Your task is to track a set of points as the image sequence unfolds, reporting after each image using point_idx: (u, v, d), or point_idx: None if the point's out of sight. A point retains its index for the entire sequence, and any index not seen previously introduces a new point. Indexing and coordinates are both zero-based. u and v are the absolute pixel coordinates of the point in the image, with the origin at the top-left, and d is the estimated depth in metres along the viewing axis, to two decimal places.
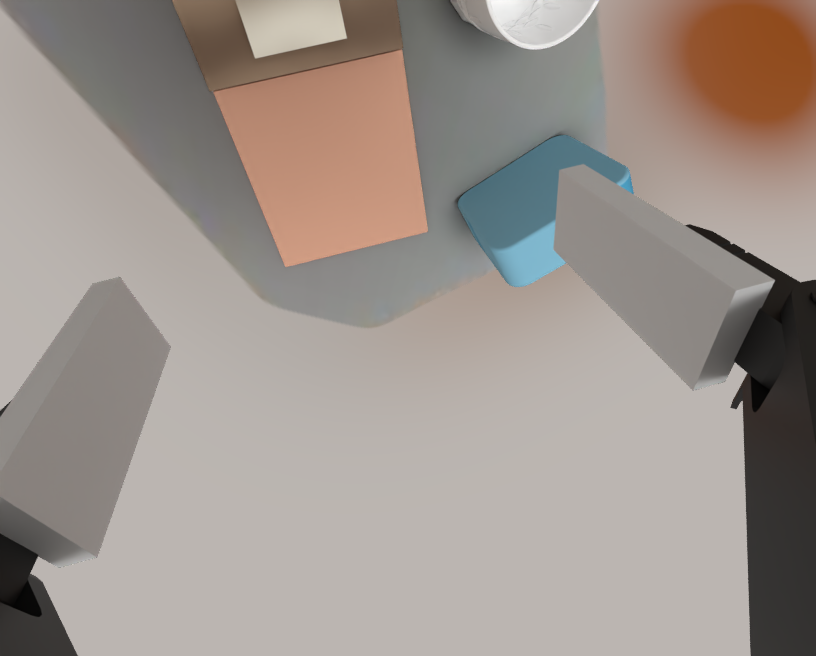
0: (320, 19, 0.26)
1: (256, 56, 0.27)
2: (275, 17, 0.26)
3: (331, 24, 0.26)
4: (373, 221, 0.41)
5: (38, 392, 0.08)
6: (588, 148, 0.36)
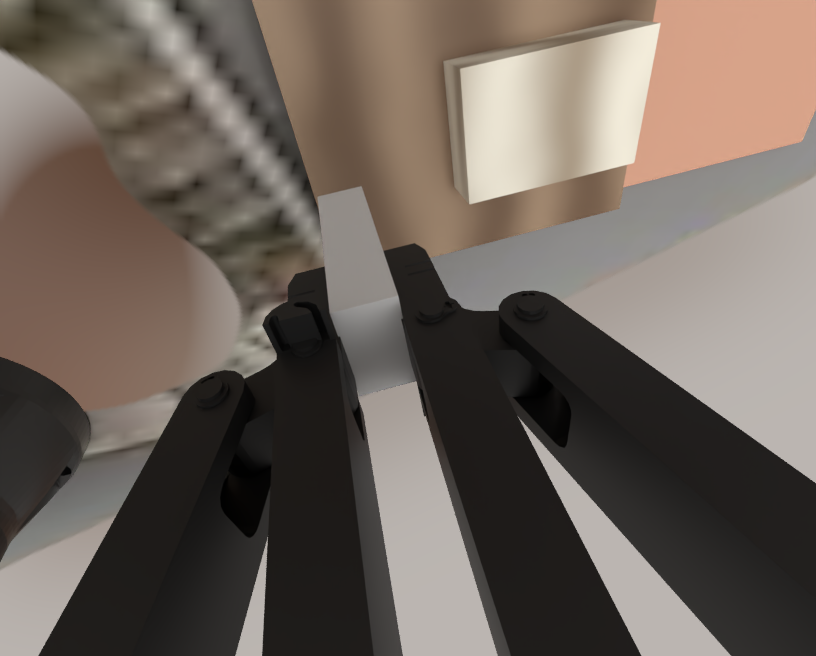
0: (628, 65, 0.19)
1: (632, 160, 0.22)
2: (607, 131, 0.21)
3: (638, 47, 0.18)
4: None
5: (343, 256, 0.11)
6: None
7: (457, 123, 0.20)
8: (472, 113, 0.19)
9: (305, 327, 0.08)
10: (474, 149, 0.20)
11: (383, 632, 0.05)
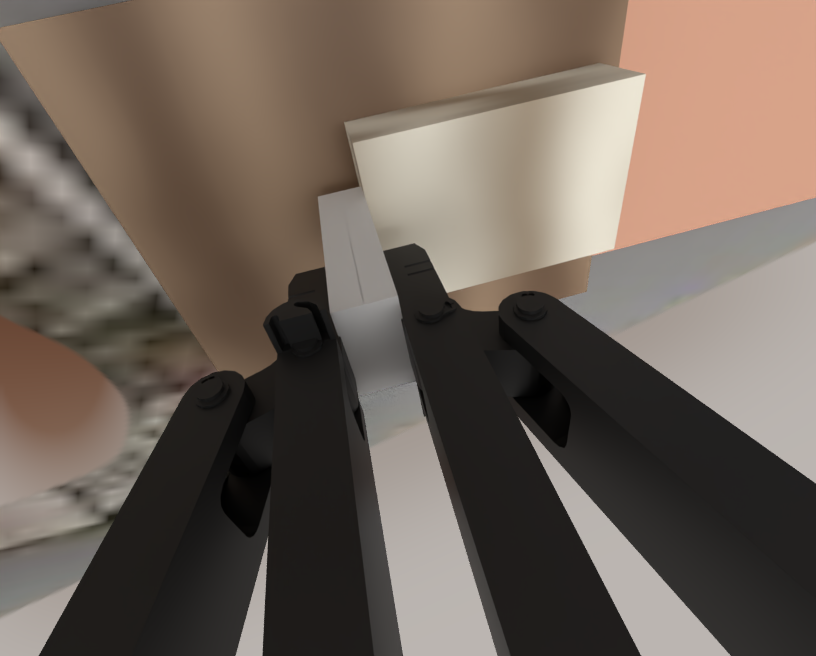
0: (600, 131, 0.13)
1: (612, 246, 0.16)
2: (575, 214, 0.15)
3: (614, 107, 0.13)
4: None
5: (343, 256, 0.11)
6: None
7: None
8: (379, 199, 0.13)
9: (305, 327, 0.08)
10: (388, 243, 0.14)
11: (383, 632, 0.05)
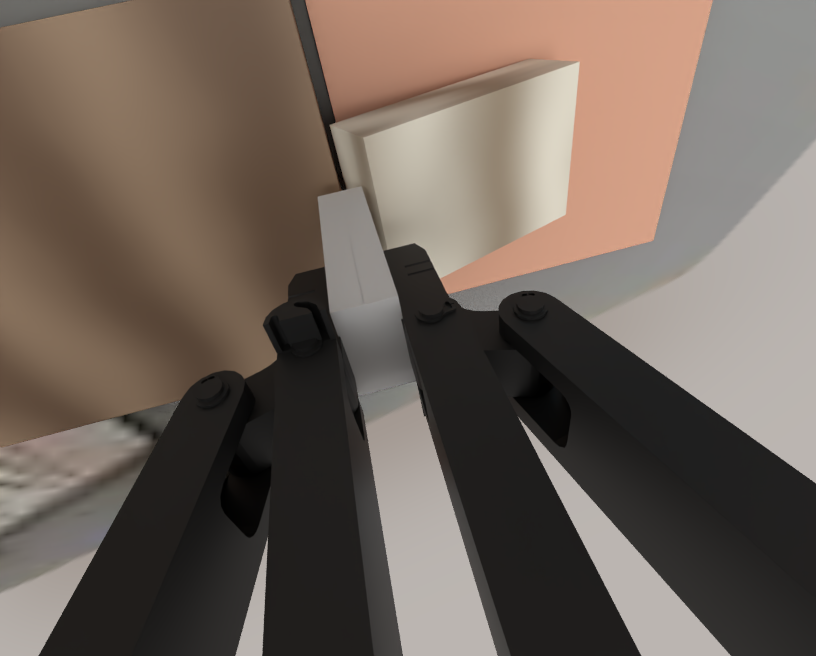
0: (552, 112, 0.16)
1: (564, 212, 0.19)
2: (538, 186, 0.17)
3: (560, 91, 0.15)
4: (647, 51, 0.18)
5: (343, 256, 0.11)
6: None
7: None
8: (387, 191, 0.14)
9: (305, 327, 0.08)
10: (395, 234, 0.15)
11: (383, 632, 0.05)
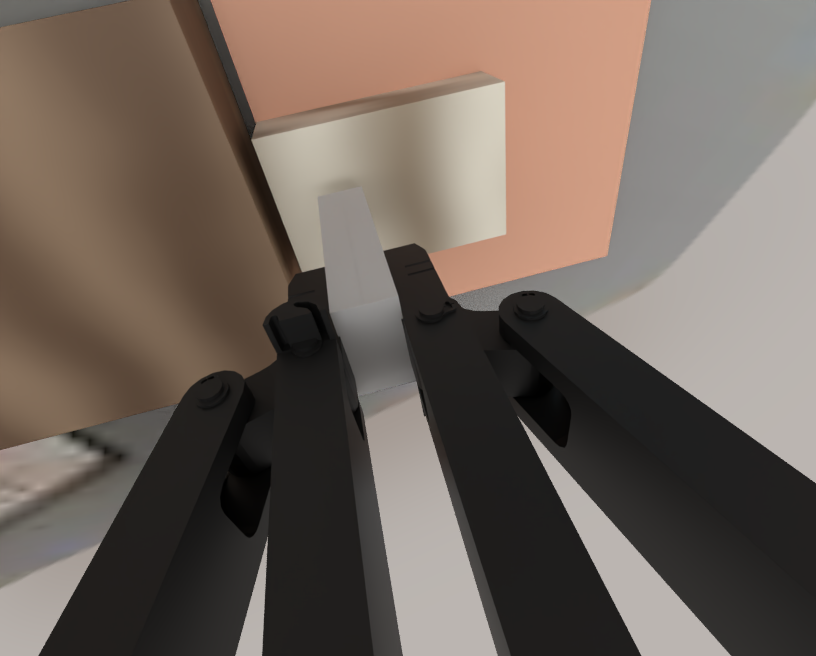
0: (473, 130, 0.16)
1: (504, 232, 0.19)
2: (464, 202, 0.17)
3: (481, 110, 0.15)
4: (584, 67, 0.17)
5: (343, 256, 0.11)
6: None
7: None
8: (282, 188, 0.15)
9: (305, 327, 0.08)
10: (296, 226, 0.16)
11: (383, 632, 0.05)
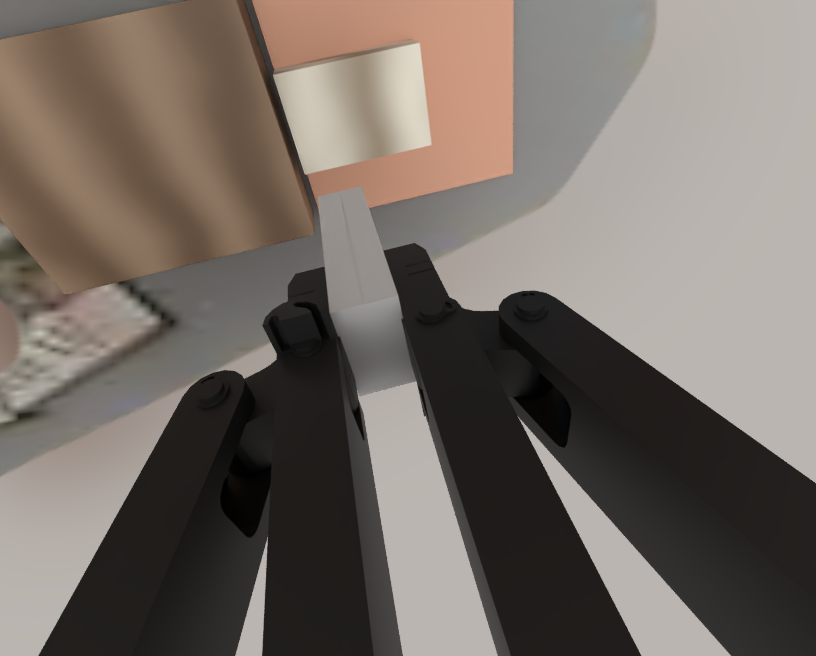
0: (403, 73, 0.26)
1: (430, 143, 0.29)
2: (402, 120, 0.28)
3: (407, 60, 0.26)
4: (477, 37, 0.28)
5: (343, 256, 0.11)
6: None
7: None
8: (290, 106, 0.26)
9: (305, 327, 0.08)
10: (298, 133, 0.27)
11: (383, 632, 0.05)
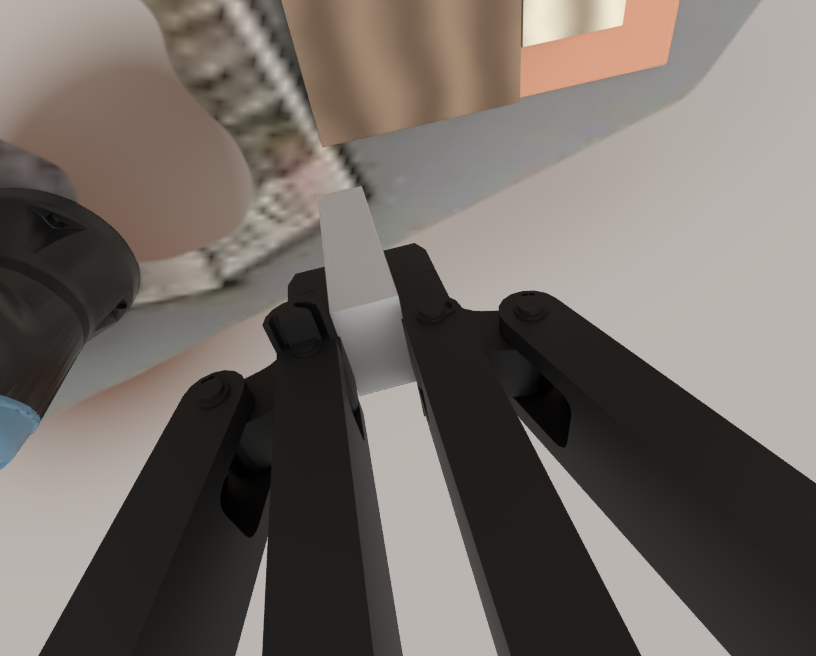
0: None
1: (621, 23, 0.36)
2: (606, 1, 0.35)
3: None
4: None
5: (343, 256, 0.11)
6: None
7: None
8: None
9: (305, 327, 0.08)
10: (528, 7, 0.34)
11: (383, 632, 0.05)
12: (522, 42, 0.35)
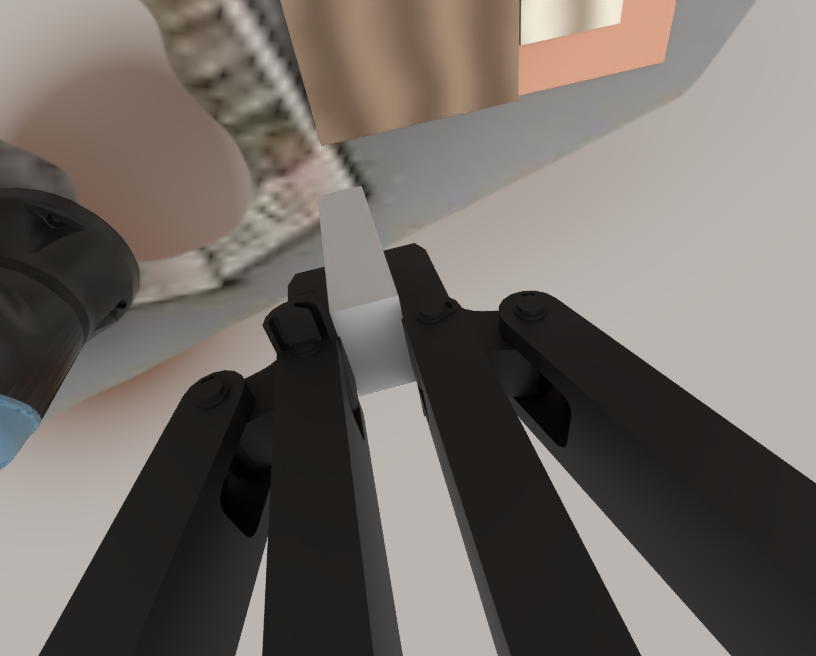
0: None
1: (619, 21, 0.36)
2: None
3: None
4: None
5: (343, 256, 0.11)
6: None
7: None
8: None
9: (305, 327, 0.08)
10: (526, 6, 0.34)
11: (383, 632, 0.05)
12: (520, 40, 0.36)
